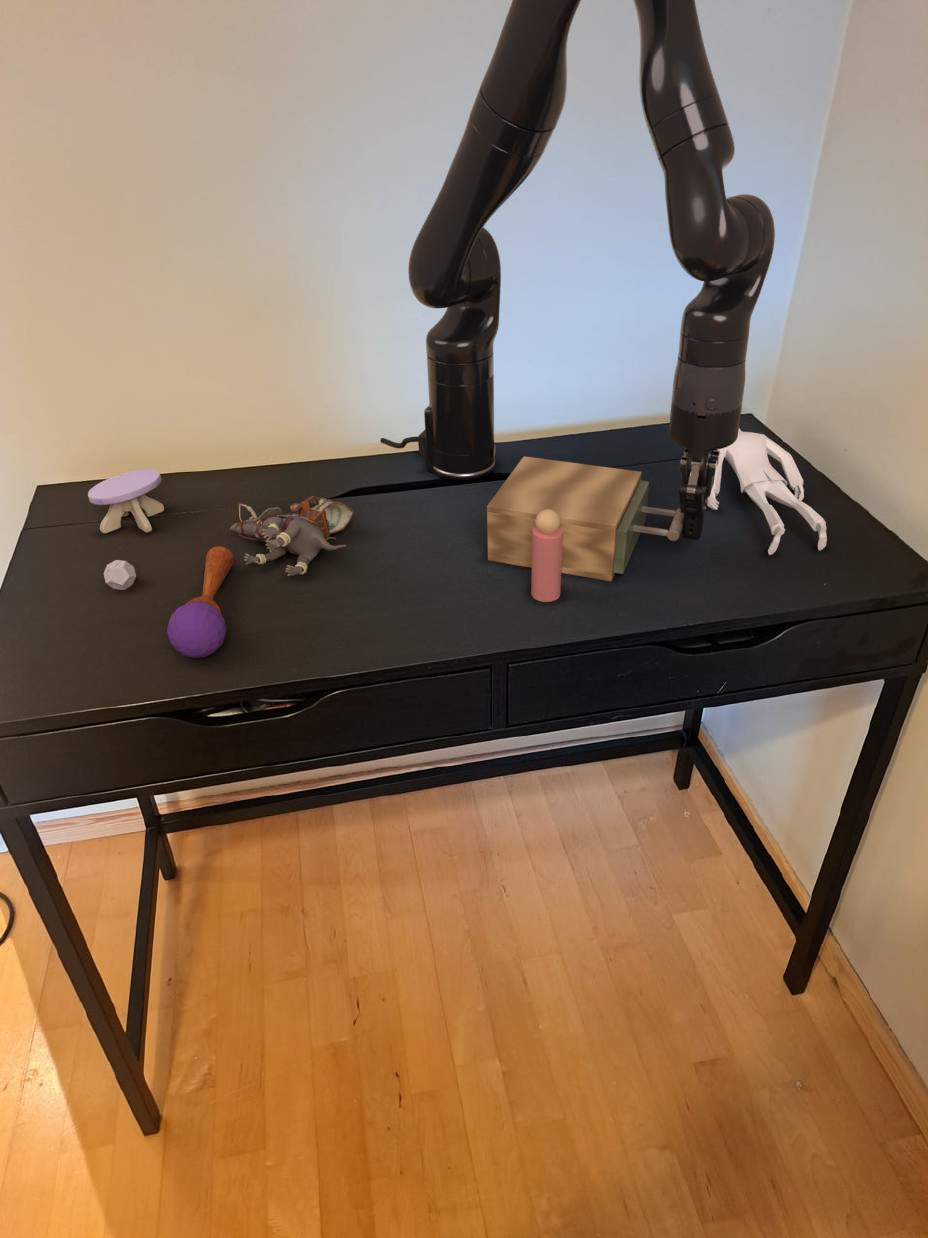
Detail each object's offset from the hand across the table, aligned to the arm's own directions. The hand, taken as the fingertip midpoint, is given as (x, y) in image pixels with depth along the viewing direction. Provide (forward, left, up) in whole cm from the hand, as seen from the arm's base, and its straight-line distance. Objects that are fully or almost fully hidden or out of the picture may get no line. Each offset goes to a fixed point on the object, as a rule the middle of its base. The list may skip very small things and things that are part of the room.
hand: (691, 536), depth 108 cm
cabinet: (-16, 0, -4) cm, 16 cm away
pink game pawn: (-14, -12, -4) cm, 19 cm away
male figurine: (+7, +17, -4) cm, 18 cm away
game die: (-64, -27, -4) cm, 69 cm away
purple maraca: (-50, -29, -4) cm, 57 cm away
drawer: (-11, 0, -3) cm, 11 cm away
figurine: (-48, -11, -4) cm, 49 cm away
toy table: (-73, -13, -4) cm, 74 cm away
